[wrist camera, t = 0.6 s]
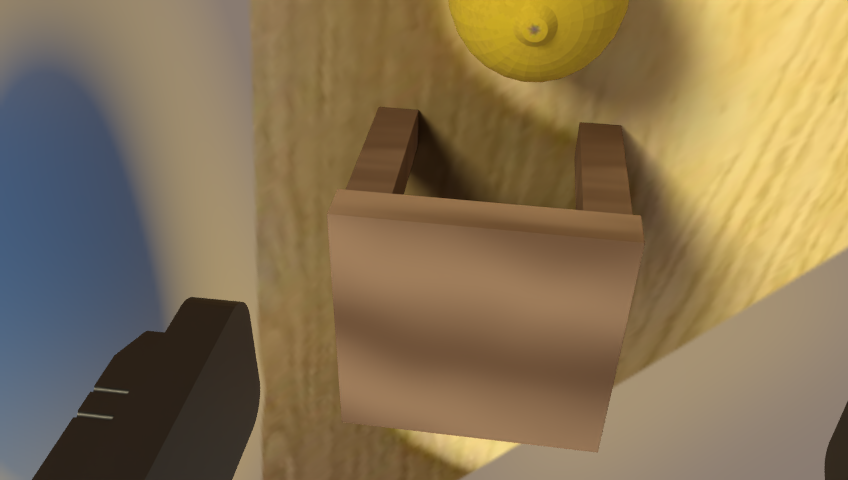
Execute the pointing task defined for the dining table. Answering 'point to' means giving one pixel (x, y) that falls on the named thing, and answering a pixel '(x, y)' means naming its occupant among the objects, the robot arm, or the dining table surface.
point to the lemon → (537, 34)
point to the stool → (481, 297)
